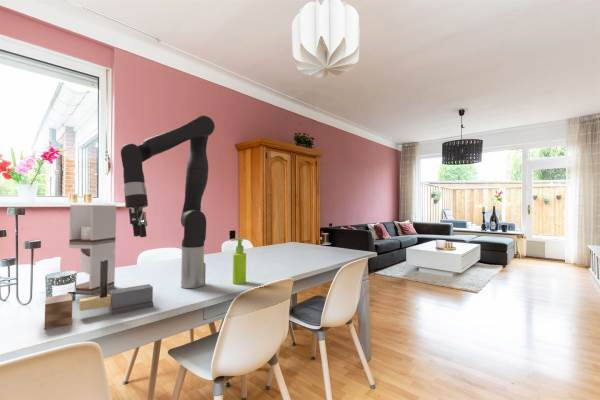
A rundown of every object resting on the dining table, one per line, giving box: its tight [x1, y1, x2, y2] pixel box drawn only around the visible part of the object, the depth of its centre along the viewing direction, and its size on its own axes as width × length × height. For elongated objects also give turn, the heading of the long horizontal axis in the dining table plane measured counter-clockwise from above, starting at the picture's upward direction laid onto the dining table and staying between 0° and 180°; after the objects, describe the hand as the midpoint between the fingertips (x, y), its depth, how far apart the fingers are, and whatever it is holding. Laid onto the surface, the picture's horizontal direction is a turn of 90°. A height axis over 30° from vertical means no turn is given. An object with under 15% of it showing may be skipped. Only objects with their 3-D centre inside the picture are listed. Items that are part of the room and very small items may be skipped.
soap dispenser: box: [230, 238, 247, 285], centre depth 131 cm, size 6×7×20 cm
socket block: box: [43, 293, 73, 330], centre depth 85 cm, size 6×8×7 cm
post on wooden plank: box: [79, 260, 112, 312], centre depth 94 cm, size 18×3×14 cm, turn 131°
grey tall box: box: [68, 204, 117, 295], centre depth 119 cm, size 11×11×35 cm
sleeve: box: [108, 283, 154, 316], centre depth 97 cm, size 12×7×6 cm, turn 131°
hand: (140, 236), depth 109 cm, fingers open, 8 cm apart
